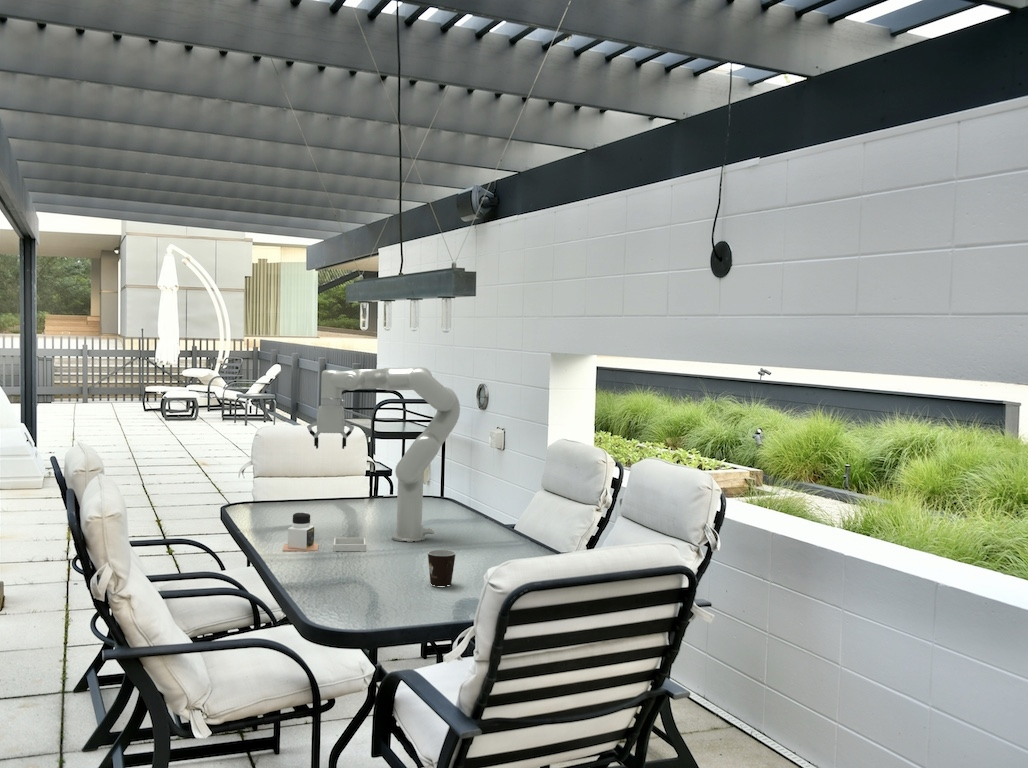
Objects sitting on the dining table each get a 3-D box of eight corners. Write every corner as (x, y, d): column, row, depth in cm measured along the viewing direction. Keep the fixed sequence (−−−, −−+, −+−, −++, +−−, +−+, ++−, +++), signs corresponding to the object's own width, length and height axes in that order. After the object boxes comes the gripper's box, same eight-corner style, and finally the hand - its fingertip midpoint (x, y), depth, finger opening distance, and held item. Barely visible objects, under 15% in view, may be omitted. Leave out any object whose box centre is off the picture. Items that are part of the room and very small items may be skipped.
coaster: (318, 545, 338) (318, 543, 338) (317, 551, 328) (317, 549, 328) (284, 545, 336) (284, 543, 336) (282, 551, 326) (282, 550, 326)
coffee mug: (427, 580, 294) (428, 549, 293) (454, 581, 295) (455, 549, 294) (426, 591, 282) (427, 558, 282) (454, 591, 283) (455, 558, 282)
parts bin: (364, 544, 341) (365, 537, 341) (365, 551, 330) (365, 544, 330) (334, 544, 339) (334, 537, 339) (333, 551, 329) (333, 544, 328)
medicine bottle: (306, 549, 328) (307, 515, 327) (287, 548, 329) (288, 514, 328) (314, 545, 335) (314, 511, 334) (295, 543, 336) (295, 510, 335)
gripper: (354, 402, 356) (353, 447, 357) (308, 401, 353) (307, 446, 354) (354, 404, 348) (353, 449, 349) (307, 403, 346) (306, 449, 346)
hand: (330, 448), depth 352 cm, fingers open, 9 cm apart
